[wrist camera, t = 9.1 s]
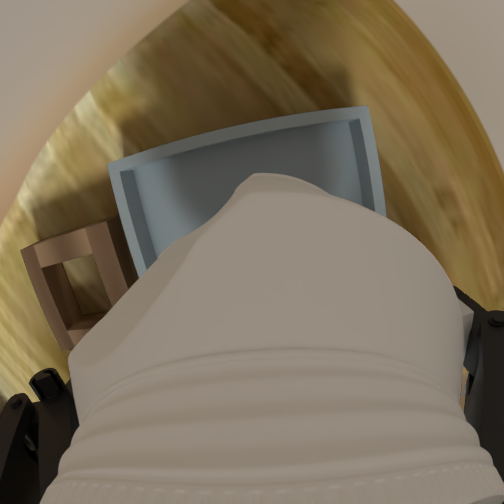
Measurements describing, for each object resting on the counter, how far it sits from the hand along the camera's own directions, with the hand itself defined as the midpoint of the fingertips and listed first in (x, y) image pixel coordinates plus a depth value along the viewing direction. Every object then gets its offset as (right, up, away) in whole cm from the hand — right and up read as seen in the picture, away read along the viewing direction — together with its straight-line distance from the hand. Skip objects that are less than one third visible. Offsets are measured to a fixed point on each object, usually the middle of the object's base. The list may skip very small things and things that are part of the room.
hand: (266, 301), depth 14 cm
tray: (0, +3, +9) cm, 9 cm away
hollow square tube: (-15, 0, +10) cm, 18 cm away
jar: (0, +1, +3) cm, 3 cm away
